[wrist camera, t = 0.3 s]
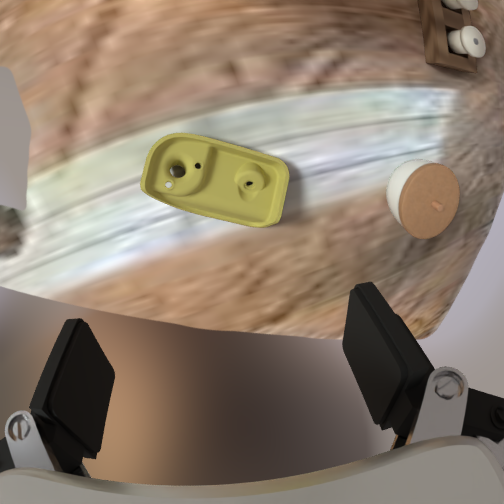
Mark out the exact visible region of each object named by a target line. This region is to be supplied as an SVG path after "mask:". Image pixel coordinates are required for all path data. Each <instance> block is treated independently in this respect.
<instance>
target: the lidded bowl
mask: <svg viewBox="0 0 504 504" xmlns="http://www.w3.org/2000/svg"><path fill="white" fill-rule="evenodd" d="M386 197H387V203H388V206H389V209H390V211H391V213H392V214H393V216H394V217H395V219H396V220H397V221H398V222H399V223H400V224H401V225H402V226H403V227H404V228H405V230H406V231H407V232H408V233H410V234H411V235H412V236H414V237H416V238H419V239H428V238H432V237H434V236H436V235H438V234H440V233H441V232H442V231H443V230H445V228H446V227H447V226H448V225H449V224H450V222H451V221H452V219H453V218H454V216H455V213H456V211H457V208H458V204H459V197H460V190H459V185H458V181H457V179H456V177H455V175H454V173H453V172H452V171H451V170H450V169H449V168H447V167H446V166H444V165H441V164H438V163H434V162H432V161H428V160H423V159H414V160H409V161H406V162H404V163H402V164H401V165H399V166H398V167H397V168H396V169H395V170H394V171H393V173H392V174H391V176H390V178H389V181H388V184H387V189H386Z"/></svg>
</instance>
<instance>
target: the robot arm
mask: <svg viewBox="0 0 504 504" xmlns="http://www.w3.org/2000/svg"><path fill="white" fill-rule="evenodd" d="M342 345H343V350H344V353H345V356H346V358H347V360H348V362H349V365H350V367H351V369H352V371H353V374H354V376H355V378H356V381H357V383H358V385H359V388H360V390H361V392H362V394H363V397H364V399H365V402H366V404H367V407H368V409H369V412H370V414H371V416H372V419H373V421H374V423H375V424H377V425H378V424H380V427H381V429H382V430H385V429H388V428H391V427H392V428H393V430H394V432H395V434H396V436H395V439H394V442H393V444H392V447H391V449H390V451H387V452H384V453H381V454H378V455H375V456H372V457H369V458H366V459H362V460H359V461H355V462H352V463H348V464H344V465H341V466H337V467H333V468H329V469H325V470H321V471H316V472H312V473H307V474H302V475H297V476H291V477H286V478H280V479H273V480H266V481H258V482H249V483H239V484H227V485H209V486H164V485H145V484H132V483H123V482H115V481H108V480H100V479H94V478H91V477H90V475H89V473H88V471H87V470H86V468H85V466H84V465H83V463H82V459H83V457H85V458H91V459H96V456H97V453H98V452H99V451H100V449H101V444H102V438H103V433H104V427H105V421H106V417H107V411H108V406H109V402H110V397H111V393H112V388H113V384H114V379H115V372H114V369H113V367H112V366H111V364H110V363H109V361H108V359H107V357H106V356H105V354H104V352H103V351H102V349H101V347H100V345H99V343H98V342H97V340H96V338H95V336H94V335H93V333H92V331H91V329H90V327H89V325H88V323H86V322H84V321H83V320H82V319H80V318H78V319H68V320H66V322H65V323H64V325H63V328H62V330H61V332H60V334H59V336H58V338H57V340H56V342H55V344H54V347H53V349H52V351H51V354H50V356H49V358H48V361H47V363H46V365H45V368H44V370H43V372H42V375H41V377H40V380H39V382H38V385H37V387H36V390H35V392H34V395H33V398H32V401H31V403H30V406H29V408H30V409H31V413H28V412H26V411H18V412H15V413H14V414H12V415H11V416H10V418H9V419H8V420H7V423H6V426H5V436H6V437H4V438H3V439H2V440H0V504H504V398H501V397H497V396H494V395H491V394H487V393H484V392H481V391H478V390H475V389H471V388H468V382H467V379H466V378H465V376H464V375H463V374H462V373H461V372H460V371H459V370H457V369H454V368H452V367H440V368H438V369H436V370H435V369H434V367H433V365H432V364H431V363H430V361H429V359H428V358H427V356H426V355H425V353H424V351H423V350H422V348H421V347H420V345H419V344H418V343H417V341H416V339H415V338H414V336H413V335H412V333H411V332H410V330H409V329H408V327H407V326H406V324H405V323H404V322H403V320H402V319H401V317H400V316H399V315H397V314H395V313H394V312H393V310H392V309H391V307H390V306H389V304H388V303H387V302H386V300H385V299H384V297H383V296H382V295H381V293H380V292H379V290H378V289H377V288H376V286H375V285H374V284H373V283H372V282H366V283H361V284H356V285H355V288H354V289H352V290H351V291H350V296H349V304H348V311H347V317H346V324H345V330H344V336H343V343H342Z"/></svg>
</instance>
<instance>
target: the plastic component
mask: <svg viewBox="0 0 504 504" xmlns="http://www.w3.org/2000/svg"><path fill="white" fill-rule="evenodd" d="M196 163H199V164H200V165H201V168H200V169H196V168H195V164H196ZM175 165H179V166H181V167H183V168H184V170H185V175H184V176H183V177H180V178H176V177H174V176H172V174H171V173H170V169H171V167H173V166H175ZM248 181H251V182H253V184H252V185H247V184H246V183H247V182H248ZM288 181H289V170H288V168H287V166H286V164H285V163H284V162H283V161H282V160H280V159H278V158H276V157H272V156H269V155H266V154H263V153H260V152H257V151H253V150H250V149H247V148H243V147H240V146H237V145H233V144H230V143H226V142H223V141H219V140H215V139H212V138H208V137H204V136H199V135H195V134H188V133H174V134H170V135H167V136H165V137H163V138H161V139H160V140H158V141H157V142H156V143H155V144H154V145H153V146H152V148H151V149H150V151H149V153H148V156H147V158H146V162H145V166H144V170H143V174H142V178H141V183H140V186H141V190H142V191H143V192H144V193H146V194H147V195H149V196H150V197H152V198H154V199H156V200H158V201H161V202H163V203H165V204H168V205H170V206H173V207H176V208H178V209H181V210H185V211H188V212H191V213H195V214H198V215H202V216H206V217H211V218H215V219H219V220H224V221H228V222H232V223H237V224H241V225H245V226H250V227H258V228H264V227H268V226H271V225H273V224H276V223H278V222H279V220H280V218H281V215H282V210H283V205H284V201H285V196H286V191H287V186H288ZM166 182H170V183H172V187H170V188H167V187H166V186H165V183H166Z"/></svg>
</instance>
